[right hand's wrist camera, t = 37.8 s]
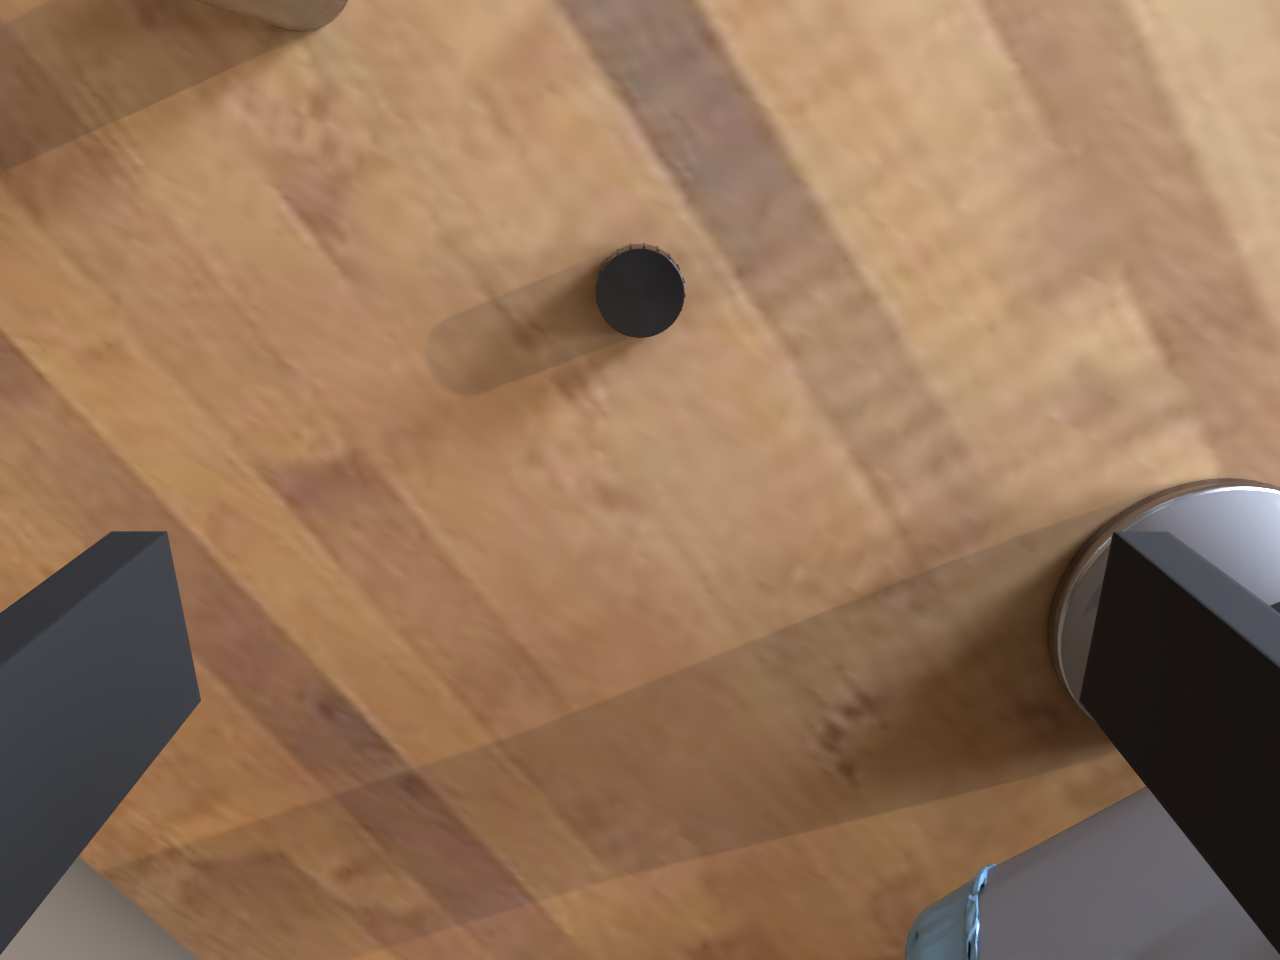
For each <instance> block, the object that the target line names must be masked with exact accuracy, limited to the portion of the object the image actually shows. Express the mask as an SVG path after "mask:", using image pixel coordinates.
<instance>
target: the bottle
mask: <svg viewBox="0 0 1280 960" xmlns="http://www.w3.org/2000/svg"><path fill="white" fill-rule="evenodd" d="M197 1H200V2H203V3H206V4H209V5H212V6H216V7H219V8H222V9H225V10H228V11H231V12H234V13H237V14H240V15H243V16H246V17H249V18H253V19H256V20H259V21H262V22H265V23H268V24H271V25H274V26H277V27H280V28H284V29H287V30H292V31H311V30H314V29H318V28H320V27H323V26H325V25H326V24H328V23H330V22H331V21H332V20H333V19H335V18H336V17H337V16H338V15H339V13H340V12H341V11H342V10H343V8H344V6H345V5H346V3H347V1H348V0H197Z"/></svg>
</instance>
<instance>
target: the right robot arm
mask: <svg viewBox="0 0 1280 960" xmlns="http://www.w3.org/2000/svg"><path fill="white" fill-rule="evenodd" d="M1049 648H1050V654H1051V658H1052V662H1053V665H1054V668H1055V670H1056V673H1057V675H1058V677H1059V679H1060V681H1061V683H1062V684H1063V686H1064V687H1065V689H1066V690H1067V692H1068V693H1069V694H1070V696H1071V697H1072V698H1073V699H1074V701H1075V702H1076V703H1077V704H1078V706H1079V707H1080V708H1081V709H1082V710H1083V712H1084V713H1085V714H1086V715H1087V716H1088V717H1089V718H1090V719H1091V720H1092V721H1094V722H1095V723H1096V724H1097V725H1099V726H1100V728H1101V729H1102V730H1103V732H1104V733H1105V734H1106V735H1107V737H1108V738H1109V739H1110V740H1111V742H1112V743H1113V744H1114V745H1115V747H1116V748H1117V749H1118V751H1119V752H1120V753H1121V754H1122V756H1123V757H1124V758H1125V759H1126V761H1127V762H1128V763H1129V764H1130V766H1131V767H1132V768H1133V770H1134V771H1135V772H1136V773H1137V775H1138V776H1139V777H1140V778H1141V780H1142V781H1143V782H1144V784H1145V785H1146V786H1147V787H1145V788H1143V789H1141V790H1139V791H1137V792H1136V793H1134V794H1132V795H1130V796H1128V797H1126V798H1124V799H1122V800H1121V801H1119V802H1117V803H1115V804H1113V805H1111V806H1109V807H1107V808H1106V809H1104V810H1102V811H1100V812H1098V813H1096V814H1094V815H1093V816H1091V817H1089V818H1087V819H1085V820H1083V821H1081V822H1079V823H1078V824H1076V825H1074V826H1072V827H1070V828H1068V829H1066V830H1064V831H1063V832H1061V833H1059V834H1057V835H1055V836H1053V837H1051V838H1049V839H1048V840H1046V841H1044V842H1042V843H1040V844H1038V845H1036V846H1034V847H1033V848H1031V849H1029V850H1027V851H1025V852H1023V853H1021V854H1019V855H1017V856H1015V857H1013V858H1011V859H1009V860H1007V861H1005V862H1003V863H1001V864H999V865H996V864H991V865H988V866H986V867H984V868H982V869H980V870H979V871H978V873H977V874H976V876H975V877H974V879H972V880H971V881H969V882H967V883H966V884H964V885H963V886H961V887H959V888H958V889H956V890H955V891H953V892H952V893H950V894H948V895H947V896H945V897H944V898H942V899H940V900H939V901H937V902H935V903H933V904H932V905H930V906H928V907H927V908H926V909H925V910H923V911H922V912H921V913H920V914H919V915H918V917H917V918H916V919H915V921H914V922H913V924H912V926H911V928H910V931H909V934H908V937H907V943H906V946H905V960H1280V488H1278V487H1276V486H1273V485H1270V484H1266V483H1262V482H1258V481H1252V480H1245V479H1229V478H1225V479H1209V480H1202V481H1195V482H1191V483H1187V484H1182V485H1179V486H1175V487H1172V488H1169V489H1166V490H1163V491H1161V492H1159V493H1156V494H1154V495H1151V496H1149V497H1147V498H1145V499H1143V500H1141V501H1139V502H1137V503H1136V504H1134V505H1132V506H1131V507H1129V508H1127V509H1126V510H1124V511H1123V512H1121V513H1120V514H1118V515H1117V516H1116V517H1114V518H1113V519H1111V520H1110V521H1109V522H1108V523H1107V524H1105V525H1104V526H1103V527H1102V528H1101V529H1100V530H1098V531H1097V532H1096V533H1095V534H1094V535H1093V536H1092V538H1091V539H1090V540H1089V541H1088V542H1087V543H1086V544H1085V545H1084V546H1083V548H1082V549H1081V550H1080V551H1079V552H1078V554H1077V555H1076V557H1075V558H1074V559H1073V561H1072V562H1071V564H1070V565H1069V567H1068V569H1067V571H1066V572H1065V574H1064V576H1063V578H1062V580H1061V582H1060V584H1059V586H1058V589H1057V591H1056V594H1055V597H1054V600H1053V604H1052V608H1051V612H1050V619H1049ZM200 701H201V699H200V694H199V689H198V684H197V679H196V674H195V669H194V664H193V659H192V654H191V649H190V644H189V639H188V634H187V629H186V624H185V619H184V614H183V609H182V604H181V599H180V594H179V589H178V584H177V579H176V574H175V569H174V564H173V559H172V554H171V549H170V544H169V539H168V534H167V532H110V533H109V534H108V535H106V536H105V537H104V538H102V539H101V540H99V541H98V542H97V543H95V544H94V545H93V546H91V547H90V548H89V549H87V550H86V551H84V552H83V553H82V554H80V555H79V556H78V557H76V558H75V559H74V560H72V561H71V562H69V563H68V564H67V565H65V566H64V567H63V568H61V569H60V570H59V571H57V572H56V573H54V574H53V575H52V576H50V577H49V578H48V579H46V580H45V581H44V582H42V583H41V584H39V585H38V586H37V587H35V588H34V589H33V590H31V591H30V592H29V593H27V594H26V595H24V596H23V597H22V598H20V599H19V600H18V601H16V602H15V603H14V604H12V605H11V606H9V607H8V608H7V609H5V610H4V611H3V612H1V613H0V955H1V953H2V952H3V951H4V950H5V948H6V947H7V946H8V944H9V943H10V942H11V941H12V939H13V938H14V937H15V936H16V934H17V933H18V932H19V931H20V929H21V928H22V927H23V925H24V924H25V923H26V922H27V920H28V919H29V918H30V917H31V915H32V914H33V913H34V912H35V910H36V909H37V908H38V906H39V905H40V904H41V903H42V901H43V900H44V899H45V898H46V896H47V895H48V894H49V893H50V891H51V890H52V889H53V887H54V886H55V885H56V884H57V882H58V881H59V880H60V879H61V877H62V876H63V875H64V873H65V872H66V871H67V870H68V868H69V867H70V866H71V865H72V863H73V862H74V861H75V860H76V858H77V857H78V856H79V854H80V853H81V852H82V851H83V849H84V848H85V847H86V846H87V844H88V843H89V842H90V841H91V839H92V838H93V837H94V835H95V834H96V833H97V832H98V830H99V829H100V828H101V827H102V825H103V824H104V823H105V822H106V820H107V819H108V818H109V816H110V815H111V814H112V813H113V811H114V810H115V809H116V808H117V806H118V805H119V804H120V803H121V801H122V800H123V799H124V797H125V796H126V795H127V794H128V792H129V791H130V790H131V789H132V787H133V786H134V785H135V784H136V782H137V781H138V780H139V778H140V777H141V776H142V775H143V773H144V772H145V771H146V770H147V768H148V767H149V766H150V764H151V763H152V762H153V761H154V759H155V758H156V757H157V756H158V754H159V753H160V752H161V751H162V749H163V748H164V747H165V745H166V744H167V743H168V742H169V740H170V739H171V738H172V737H173V735H174V734H175V733H176V732H177V730H178V729H179V728H180V726H181V725H182V724H183V723H184V721H185V720H186V719H187V718H188V716H189V715H190V714H191V713H192V711H193V710H194V709H195V707H196V706H197V705H198V704H199V702H200Z"/></svg>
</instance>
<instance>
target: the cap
mask: <svg viewBox="0 0 1280 960" xmlns="http://www.w3.org/2000/svg"><path fill="white" fill-rule="evenodd" d="M598 276H599V279H598V282H597V284H596V287H595V290H596V298H597V304H598V307H599V310H600V312H601V314H602V316H603V318H604V319H605V320H606V322H607V323H608V324H609V325H610V326H611V327H612V328H614V329H615V330H617V331H618V332H620V333H622V334H624V335H627V336H630V337H638V338H643V337H650V336H654V335H657V334H659V333H661V332H663V331H664V330H666V329H667V328H668V327H670V326H671V325H672V324H673V323H674V322H675V320H676V319H677V317H678V316H679V314H680V312H681V311H682V306H683V303H684V297H685V291H684V283H685V282H684V279H683V277H682V276H681V273H680V268H679V265H678V264H677V265H676V263H675V262H674V260H673V259H672V258H671V256H670V254H667V253H666V252H664V251H663V250H661V249H659V247H658V246H657V247H654V246H651V245H646V244H645V243H643V244H634V245H631V244H629V246H626V247H624V248H622V249H620V250H619V249H617V251H616V252H615V253H614V254H613V255H612V256H611V257H610V258H609V259H608V258H607V259H606V262H605V264H604V266H603V268H602V270H600V271H599V274H598Z"/></svg>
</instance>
